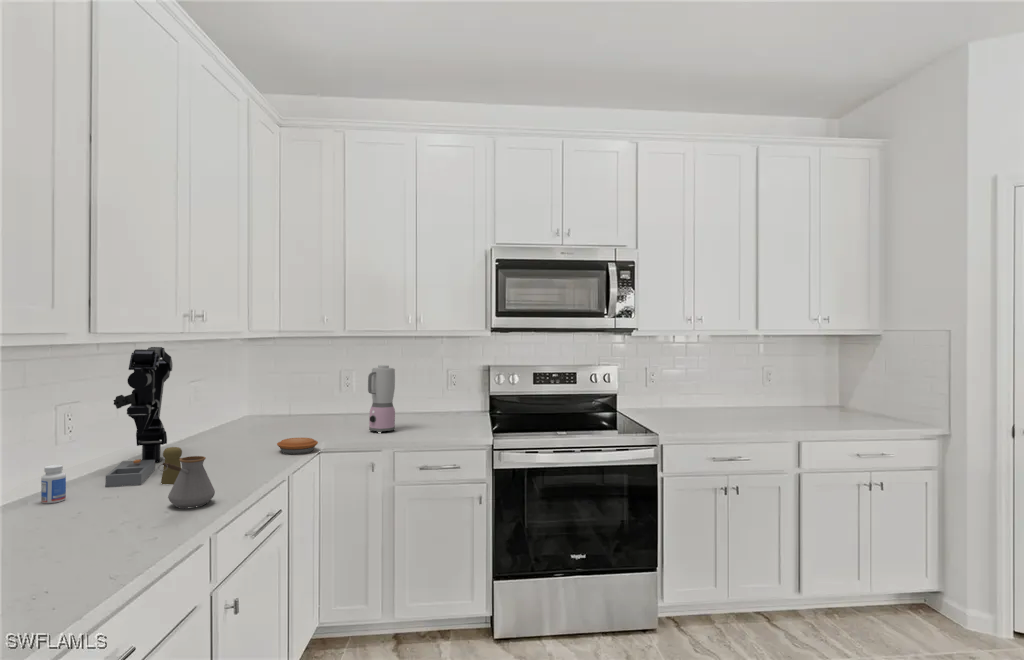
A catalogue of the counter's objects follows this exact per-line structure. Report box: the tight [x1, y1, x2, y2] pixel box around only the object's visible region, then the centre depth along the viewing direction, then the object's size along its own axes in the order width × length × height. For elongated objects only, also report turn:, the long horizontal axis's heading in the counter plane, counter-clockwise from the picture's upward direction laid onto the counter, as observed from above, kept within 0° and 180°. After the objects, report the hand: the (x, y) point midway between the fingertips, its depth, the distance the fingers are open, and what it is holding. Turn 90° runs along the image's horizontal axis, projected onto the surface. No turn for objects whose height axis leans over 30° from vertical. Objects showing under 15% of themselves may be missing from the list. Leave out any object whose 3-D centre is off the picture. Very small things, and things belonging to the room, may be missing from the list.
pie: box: [276, 437, 319, 455], centre depth 236 cm, size 16×16×5 cm
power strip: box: [104, 458, 156, 488], centre depth 190 cm, size 20×9×4 cm, turn 21°
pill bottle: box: [40, 464, 67, 504], centre depth 164 cm, size 6×5×10 cm
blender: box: [367, 364, 396, 433], centre depth 284 cm, size 16×12×32 cm
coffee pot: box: [157, 455, 216, 509], centre depth 159 cm, size 21×12×15 cm, turn 3°
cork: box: [160, 446, 183, 485], centre depth 186 cm, size 6×6×11 cm
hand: (143, 432), depth 200 cm, fingers open, 9 cm apart
